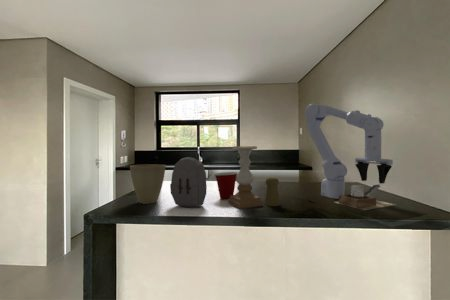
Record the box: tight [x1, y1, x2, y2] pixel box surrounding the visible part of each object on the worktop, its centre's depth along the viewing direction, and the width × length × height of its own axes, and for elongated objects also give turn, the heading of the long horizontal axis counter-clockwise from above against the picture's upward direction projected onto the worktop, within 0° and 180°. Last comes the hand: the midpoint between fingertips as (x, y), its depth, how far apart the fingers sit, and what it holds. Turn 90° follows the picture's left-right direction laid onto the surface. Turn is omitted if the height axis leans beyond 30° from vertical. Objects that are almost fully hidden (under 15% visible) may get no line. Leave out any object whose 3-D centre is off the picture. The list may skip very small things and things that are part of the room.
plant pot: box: [129, 163, 166, 205], centre depth 114 cm, size 15×15×16 cm
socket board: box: [333, 193, 397, 211], centre depth 103 cm, size 14×18×4 cm
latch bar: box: [364, 183, 381, 197], centre depth 106 cm, size 9×3×1 cm
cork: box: [264, 177, 281, 207], centre depth 107 cm, size 6×6×11 cm
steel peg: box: [350, 184, 365, 199], centre depth 101 cm, size 4×4×7 cm
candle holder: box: [227, 145, 264, 210], centre depth 107 cm, size 11×11×24 cm
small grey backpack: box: [169, 156, 208, 208], centre depth 104 cm, size 15×8×20 cm, turn 72°
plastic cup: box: [213, 171, 239, 201], centre depth 119 cm, size 11×11×12 cm
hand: (372, 181), depth 104 cm, fingers open, 7 cm apart
